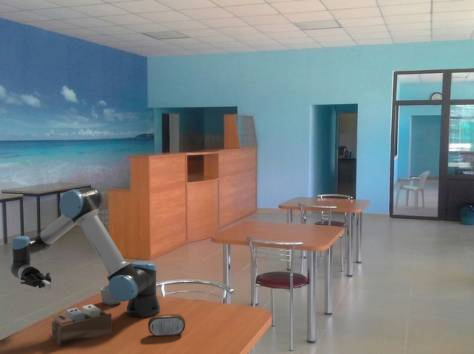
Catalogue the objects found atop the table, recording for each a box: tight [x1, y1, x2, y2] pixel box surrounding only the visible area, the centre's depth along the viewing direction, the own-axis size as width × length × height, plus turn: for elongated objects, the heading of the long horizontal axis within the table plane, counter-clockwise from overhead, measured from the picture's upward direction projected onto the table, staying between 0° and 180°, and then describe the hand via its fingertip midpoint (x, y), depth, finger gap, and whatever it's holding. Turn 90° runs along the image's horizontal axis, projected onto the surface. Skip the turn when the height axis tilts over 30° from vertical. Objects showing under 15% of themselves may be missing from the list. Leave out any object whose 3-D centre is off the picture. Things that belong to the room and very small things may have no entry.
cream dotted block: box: [81, 303, 101, 318], centre depth 218 cm, size 8×4×6 cm, turn 41°
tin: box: [147, 313, 186, 337], centre depth 210 cm, size 15×3×8 cm, turn 100°
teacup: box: [99, 284, 122, 306], centre depth 250 cm, size 14×11×8 cm
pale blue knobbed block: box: [65, 307, 84, 322], centre depth 213 cm, size 8×4×6 cm, turn 41°
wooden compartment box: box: [51, 309, 113, 347], centre depth 208 cm, size 10×21×8 cm, turn 131°
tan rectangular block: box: [53, 314, 73, 326], centre depth 205 cm, size 8×4×6 cm, turn 41°
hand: (49, 286), depth 215 cm, fingers closed
